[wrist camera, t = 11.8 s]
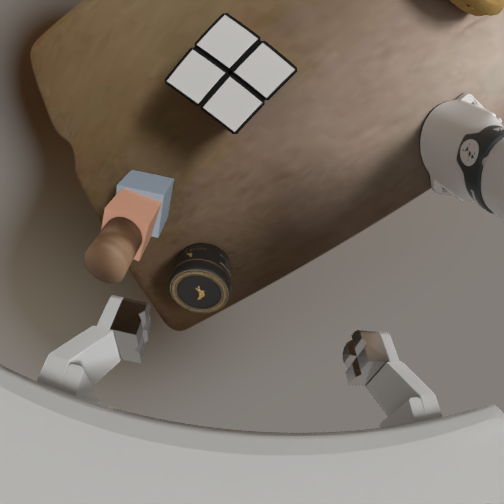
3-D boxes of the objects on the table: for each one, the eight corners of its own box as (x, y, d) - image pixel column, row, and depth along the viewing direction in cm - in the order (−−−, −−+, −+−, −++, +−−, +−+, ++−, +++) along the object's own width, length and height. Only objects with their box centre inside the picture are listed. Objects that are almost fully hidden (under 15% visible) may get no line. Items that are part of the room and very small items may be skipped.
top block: (161, 202, 38) (149, 224, 33) (151, 236, 41) (139, 261, 37) (122, 187, 37) (105, 207, 32) (115, 222, 40) (98, 245, 35)
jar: (218, 231, 48) (213, 260, 42) (241, 276, 53) (240, 306, 47) (166, 249, 50) (156, 278, 44) (193, 290, 56) (186, 320, 49)
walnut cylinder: (143, 222, 33) (124, 253, 28) (141, 256, 36) (125, 288, 31) (105, 212, 32) (82, 241, 27) (105, 246, 35) (86, 276, 30)
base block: (174, 178, 43) (164, 195, 38) (167, 217, 47) (158, 237, 42) (131, 169, 42) (116, 184, 37) (128, 208, 45) (114, 227, 40)
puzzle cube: (239, 121, 38) (235, 136, 30) (182, 78, 34) (161, 82, 26) (288, 69, 33) (300, 69, 25) (231, 24, 30) (224, 10, 21)
